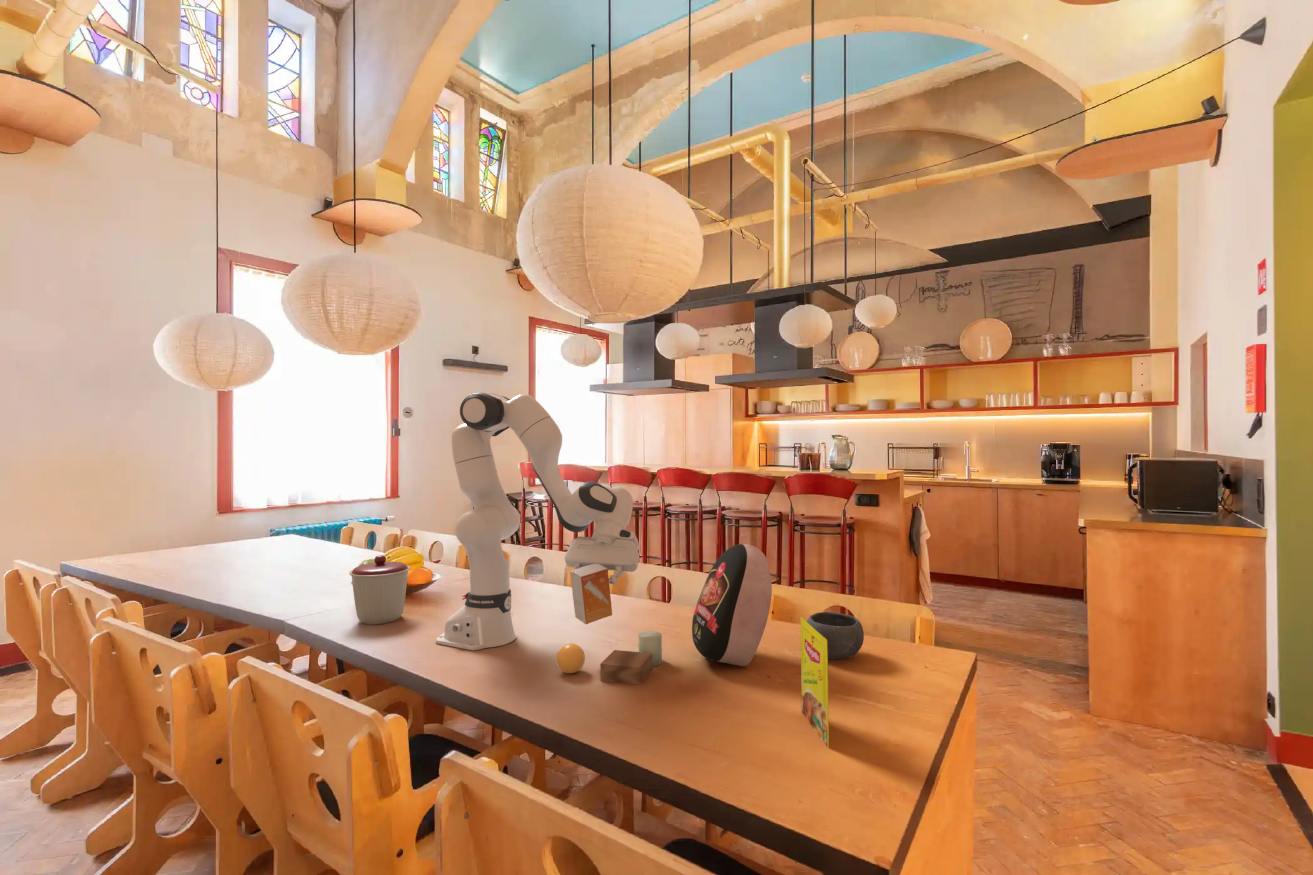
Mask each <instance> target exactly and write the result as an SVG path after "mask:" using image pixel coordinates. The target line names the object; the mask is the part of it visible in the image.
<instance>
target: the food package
mask: <svg viewBox="0 0 1313 875" xmlns="http://www.w3.org/2000/svg"><path fill="white" fill-rule="evenodd" d="M800 667H801V668H800V671H801V674H800V675H801V677H800V679H801V681H800V682H801V684H800V685H801V713H802V714H803V716H804V717H805V719H806V721H807V722H808V723H809V724H810V725H811V727H812V729H813V730H814V732H815V733H816V734H817V735H818V737H819V738H820V739H821V741H822V742H823V743H824V744H825V746H826V747H827V749H829V748H830V747H829V746H830V745H829V743H830V742H829V740H830V736H829V735H830V730H829V728H830V727H829V724H830V722H829V675H828V674H829V670H828V667H829V658H828V649H827V640H826V639H825V638H824V637H823V636H822V635H821V634H820V633H818V632H817V631H816V630H815V629H814V628H813V627H812V626H811V625H809V624H808V623H807V620H806V619H804V618H803V617H802V616H800Z"/></svg>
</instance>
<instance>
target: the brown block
mask: <svg viewBox="0 0 1313 875" xmlns="http://www.w3.org/2000/svg"><path fill="white" fill-rule="evenodd" d="M599 667H600V671H599V673H600V681H603V682H613V683H621V684H629V685H630V684H632V685H639V686H640V685H642V683H643V682H644V681H645V679H646V678H647V676H649V674H650V673H651V672H652V671H653V666H652V653H643V652H639V651H629V650H621V649H620V650H618V649H614V650H612V652H611V653H610V654H609V655H608V656H607V657H605V659H603V661H601V663H600V664H599Z"/></svg>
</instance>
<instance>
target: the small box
mask: <svg viewBox="0 0 1313 875" xmlns="http://www.w3.org/2000/svg"><path fill="white" fill-rule="evenodd" d="M569 573H570V582H571V591H572V600H573V608H574V617H575V618H576V619H578V620H579V621H580V622H581V623H582V624H584V625H588V624H591V623H594V622H597V621H599V620H602V619H605V618H608V617H610V616H613V609H612V608H613V607H612V599H611V598H612V597H611V590H610V589H611V588H610V583H609V578H610V576H609V570H608V568H606V567H604V566H602V565H600V564H592V565H588V566H584V567H581V568H578V569H575V568H574V569H573V570H570V571H569Z"/></svg>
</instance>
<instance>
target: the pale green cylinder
mask: <svg viewBox="0 0 1313 875" xmlns="http://www.w3.org/2000/svg"><path fill="white" fill-rule="evenodd" d="M662 636H663V635H662V633H661V632H658V631H652V630H649V631H641V632H640V633H638V652H643V653H652V667H654V666H659V665H661V664H662V663H663V662H662V661H663V650H662V649H663V647H662V644H663V640H662V638H663V637H662Z"/></svg>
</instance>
